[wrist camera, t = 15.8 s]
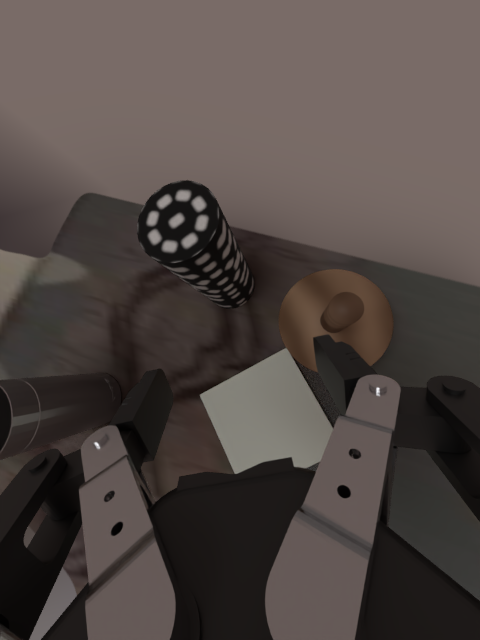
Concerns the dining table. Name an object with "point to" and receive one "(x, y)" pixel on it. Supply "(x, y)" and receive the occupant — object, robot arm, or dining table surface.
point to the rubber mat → (268, 415)
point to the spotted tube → (195, 242)
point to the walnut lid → (335, 315)
